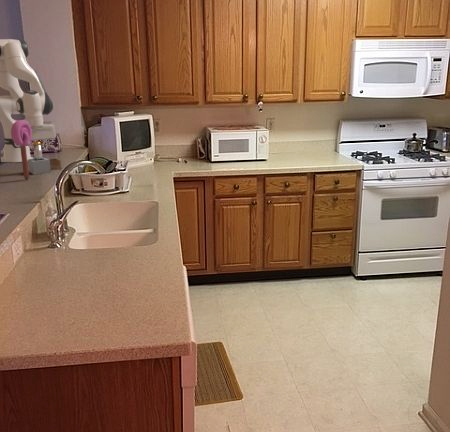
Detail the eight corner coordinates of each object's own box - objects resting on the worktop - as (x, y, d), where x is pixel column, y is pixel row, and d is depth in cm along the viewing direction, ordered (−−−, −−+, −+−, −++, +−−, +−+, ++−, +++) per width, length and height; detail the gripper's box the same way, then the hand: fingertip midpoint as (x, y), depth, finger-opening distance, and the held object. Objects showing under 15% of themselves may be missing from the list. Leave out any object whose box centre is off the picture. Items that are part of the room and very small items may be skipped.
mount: (45, 168, 279) (44, 159, 277) (57, 167, 283) (56, 158, 281) (48, 170, 273) (48, 161, 272) (61, 168, 277) (60, 160, 276)
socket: (29, 171, 269) (27, 159, 267) (46, 170, 274) (44, 157, 272) (33, 174, 262) (32, 161, 260) (51, 172, 267) (49, 159, 265)
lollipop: (25, 183, 243) (18, 121, 234) (12, 182, 244) (4, 121, 236) (40, 177, 255) (34, 118, 247) (28, 176, 257) (21, 118, 248)
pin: (34, 164, 267) (31, 142, 264) (42, 163, 270) (39, 141, 266) (36, 165, 264) (34, 142, 261) (44, 164, 266) (41, 142, 263)
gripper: (52, 120, 269) (55, 145, 273) (13, 122, 258) (16, 149, 261) (56, 121, 264) (58, 147, 268) (16, 123, 253) (19, 150, 256)
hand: (37, 148), depth 265 cm, fingers closed on pin, 4 cm apart
